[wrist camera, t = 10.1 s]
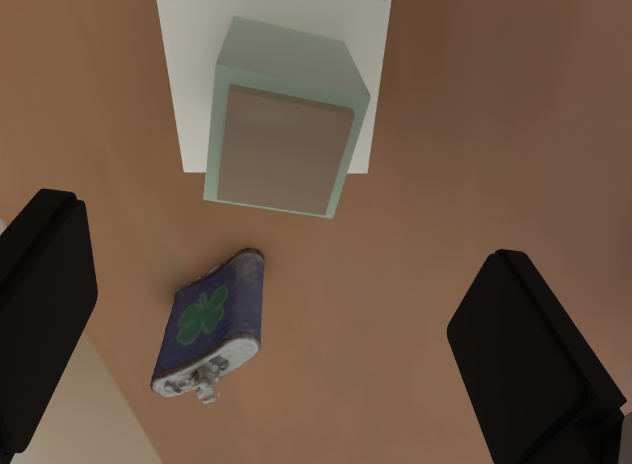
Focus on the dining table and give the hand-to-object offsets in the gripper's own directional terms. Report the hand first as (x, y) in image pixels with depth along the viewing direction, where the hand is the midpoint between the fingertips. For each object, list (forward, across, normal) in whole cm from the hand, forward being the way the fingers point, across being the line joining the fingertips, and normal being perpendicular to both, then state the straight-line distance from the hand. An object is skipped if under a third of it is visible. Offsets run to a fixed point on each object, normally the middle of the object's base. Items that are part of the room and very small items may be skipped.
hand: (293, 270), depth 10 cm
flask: (+19, +3, +19) cm, 27 cm away
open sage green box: (+13, 0, 0) cm, 13 cm away
